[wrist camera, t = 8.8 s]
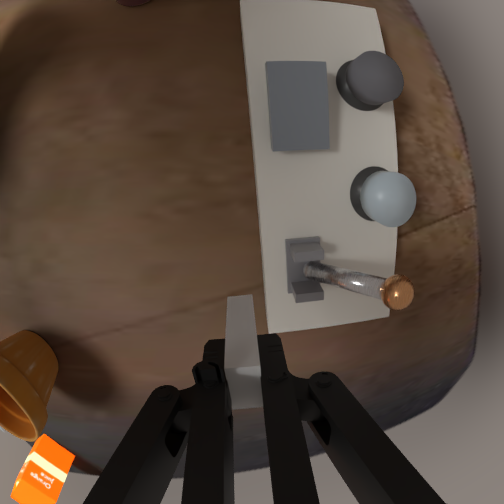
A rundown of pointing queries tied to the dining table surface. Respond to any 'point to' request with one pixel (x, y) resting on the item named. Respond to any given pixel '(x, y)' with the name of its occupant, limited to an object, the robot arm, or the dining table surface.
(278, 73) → the block
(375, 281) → the lever
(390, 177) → the button
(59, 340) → the dining table surface
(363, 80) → the button
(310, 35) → the console
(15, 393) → the flower pot
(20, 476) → the orange juice
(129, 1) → the beverage can
